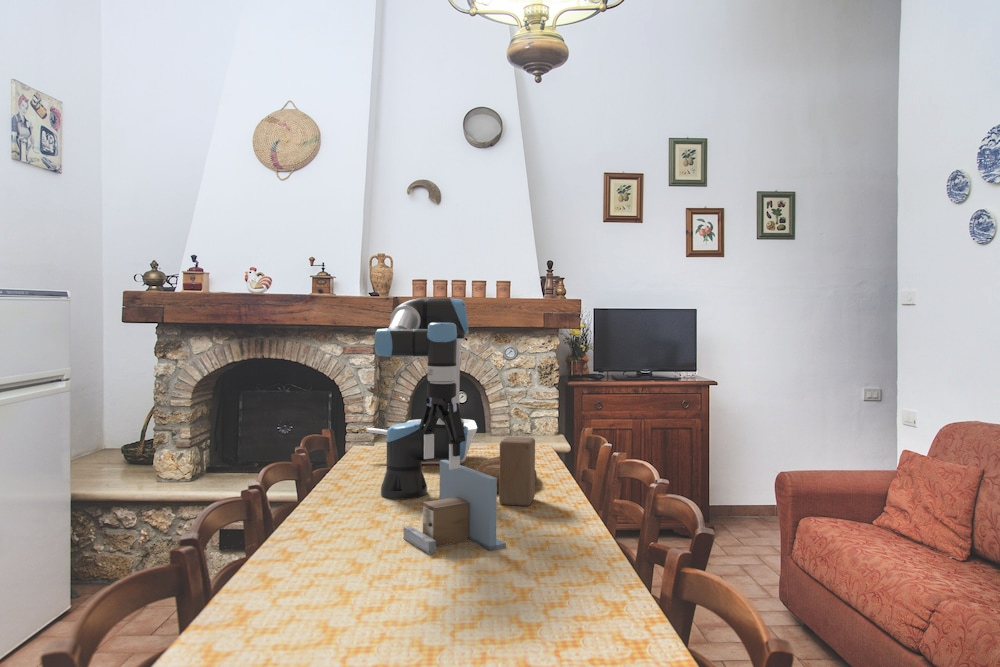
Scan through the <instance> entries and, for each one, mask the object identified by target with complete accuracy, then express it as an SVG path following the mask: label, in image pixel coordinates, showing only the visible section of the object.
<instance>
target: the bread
mask: <svg viewBox="0 0 1000 667" xmlns="http://www.w3.org/2000/svg"><path fill="white" fill-rule="evenodd" d="M475 470H476V471H479V472H481V473H484V474H487V475H490V476H492V477H495V478H497V495H499V470H500V455H498V456H495V457H491V458H488V459H486V460H484V461H482V462H480V463H479V465H478V466H477V467H476V469H475ZM536 483H537V470H536V469H535V484H536Z"/></svg>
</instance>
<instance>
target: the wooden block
mask: <svg viewBox="0 0 1000 667" xmlns="http://www.w3.org/2000/svg"><path fill="white" fill-rule="evenodd" d="M499 456H500V470H499V494H498V501H499V503H500V505H509V506H520V507H521V506H522V507H529V506H530V505H532V502H533V501H534V498H535V490H536V488H535V484H536V483H535V470H536V440H535V438H534V437H529V436H527V437H525V436H505V437H504V438H503V439H502V440H501V441H500V442H499Z"/></svg>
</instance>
